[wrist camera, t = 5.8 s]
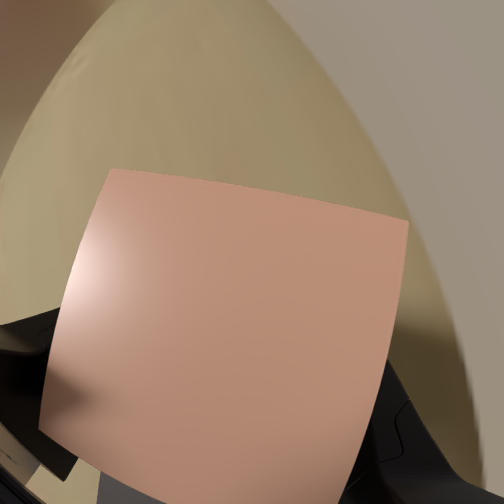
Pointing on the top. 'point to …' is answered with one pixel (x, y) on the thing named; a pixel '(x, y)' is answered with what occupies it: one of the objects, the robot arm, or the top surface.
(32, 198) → the top surface
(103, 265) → the pink-topped tall block
